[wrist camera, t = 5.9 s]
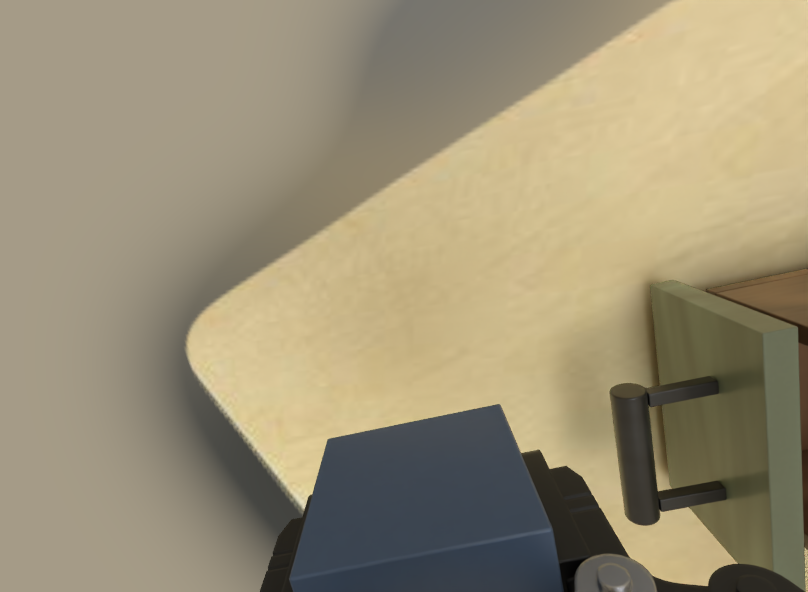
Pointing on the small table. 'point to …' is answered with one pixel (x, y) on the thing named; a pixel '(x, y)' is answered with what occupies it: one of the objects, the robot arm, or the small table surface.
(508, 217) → the small table surface
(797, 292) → the drawer
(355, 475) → the block
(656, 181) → the small table surface
